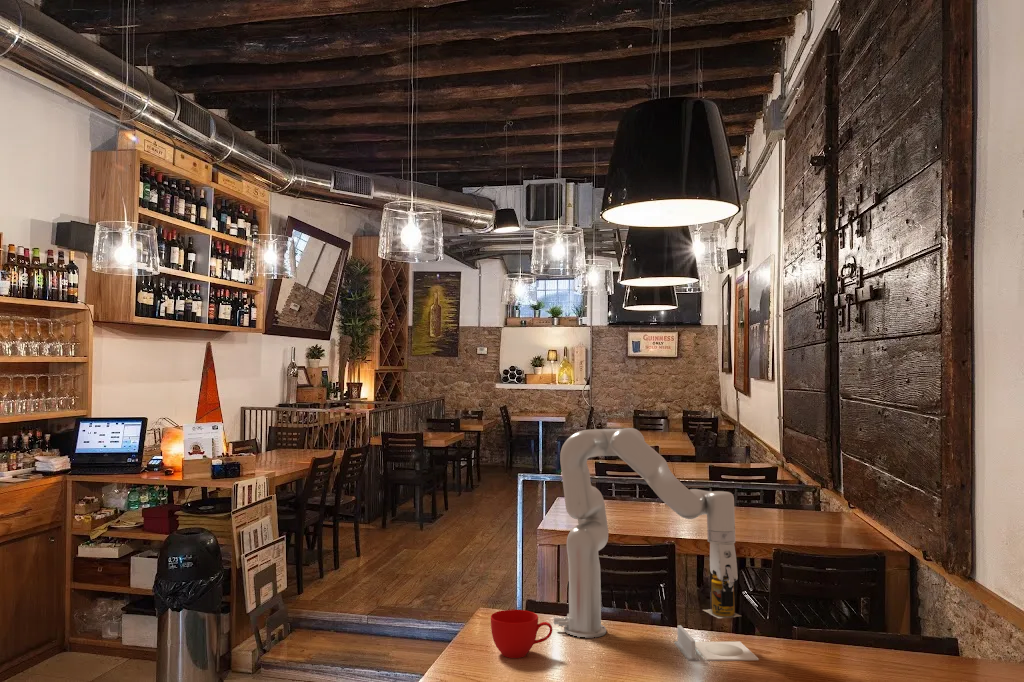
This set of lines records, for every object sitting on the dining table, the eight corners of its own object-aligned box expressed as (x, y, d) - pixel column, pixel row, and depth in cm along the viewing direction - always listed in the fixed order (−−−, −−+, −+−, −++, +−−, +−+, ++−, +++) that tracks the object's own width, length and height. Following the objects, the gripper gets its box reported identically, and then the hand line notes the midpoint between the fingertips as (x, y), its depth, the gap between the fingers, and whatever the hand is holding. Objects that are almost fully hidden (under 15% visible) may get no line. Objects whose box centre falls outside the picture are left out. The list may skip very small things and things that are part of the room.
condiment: (719, 619, 192) (718, 573, 193) (702, 610, 200) (701, 567, 201) (742, 617, 194) (741, 572, 196) (724, 608, 203) (723, 565, 204)
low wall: (688, 660, 188) (687, 641, 189) (674, 643, 202) (673, 625, 203) (699, 660, 188) (698, 641, 189) (684, 643, 202) (684, 625, 203)
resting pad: (706, 660, 188) (706, 658, 188) (691, 643, 202) (691, 641, 202) (758, 660, 189) (758, 658, 189) (740, 642, 203) (740, 641, 203)
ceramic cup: (548, 665, 185) (548, 625, 186) (485, 660, 188) (485, 621, 189) (555, 649, 197) (555, 611, 198) (496, 644, 201) (496, 608, 202)
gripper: (745, 542, 190) (748, 611, 188) (724, 531, 207) (726, 594, 206) (718, 542, 190) (720, 611, 188) (698, 531, 207) (700, 594, 205)
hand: (723, 602), depth 197 cm, fingers closed on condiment, 6 cm apart
